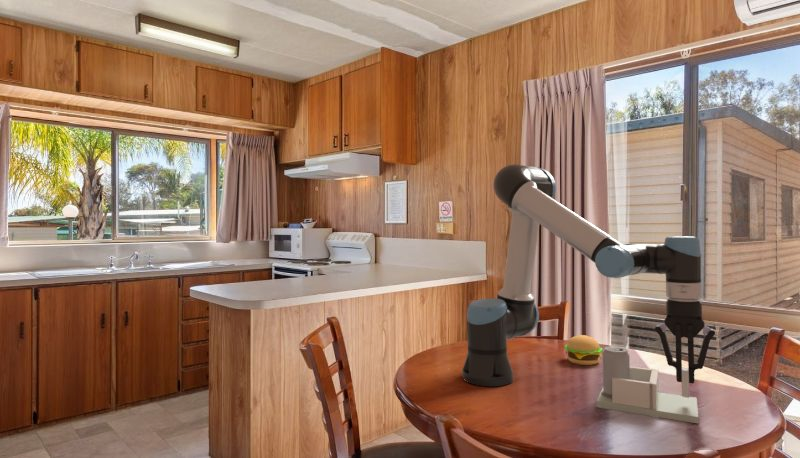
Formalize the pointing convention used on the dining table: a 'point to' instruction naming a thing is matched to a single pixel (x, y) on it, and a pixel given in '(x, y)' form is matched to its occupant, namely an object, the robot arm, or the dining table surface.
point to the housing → (637, 388)
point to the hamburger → (583, 350)
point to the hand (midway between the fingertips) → (685, 395)
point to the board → (658, 407)
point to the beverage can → (615, 366)
